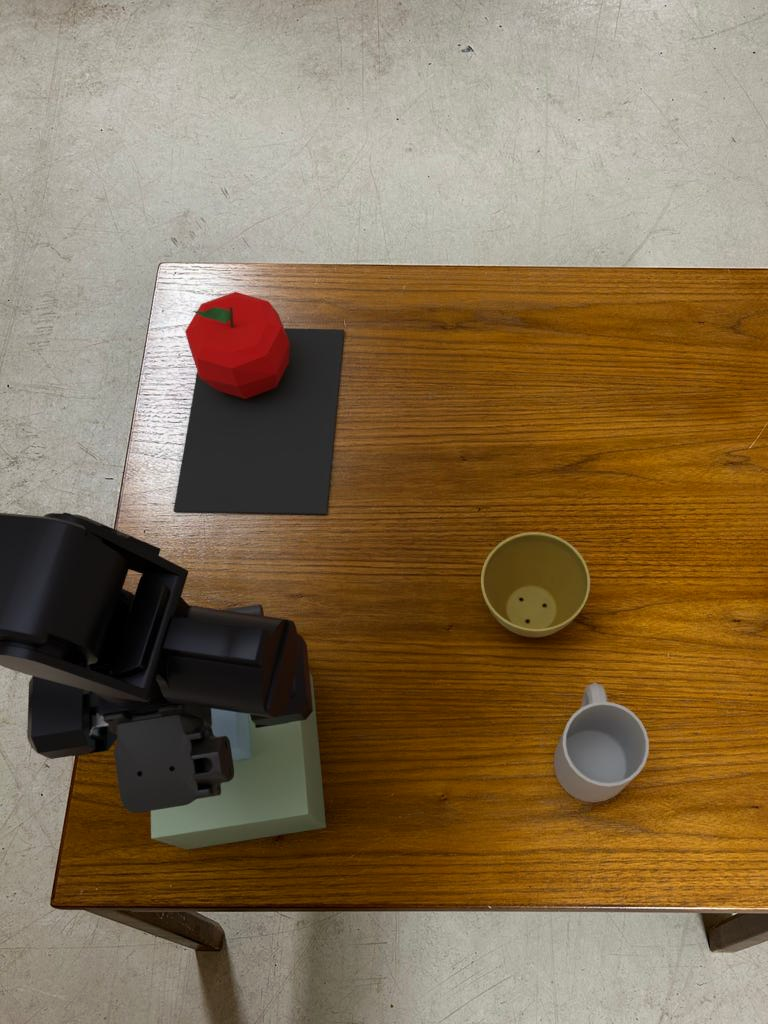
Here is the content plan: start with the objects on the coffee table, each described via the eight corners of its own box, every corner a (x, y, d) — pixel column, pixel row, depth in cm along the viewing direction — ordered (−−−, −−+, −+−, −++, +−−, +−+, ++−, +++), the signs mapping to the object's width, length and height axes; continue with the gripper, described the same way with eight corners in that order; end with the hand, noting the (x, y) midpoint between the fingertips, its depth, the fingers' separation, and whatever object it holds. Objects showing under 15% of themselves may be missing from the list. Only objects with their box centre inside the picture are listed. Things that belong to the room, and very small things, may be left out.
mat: (174, 512, 84) (173, 510, 84) (205, 328, 93) (204, 326, 92) (327, 515, 84) (326, 513, 84) (344, 331, 93) (343, 329, 92)
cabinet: (181, 695, 77) (148, 667, 69) (312, 676, 78) (294, 646, 70) (186, 849, 72) (150, 838, 64) (326, 827, 73) (308, 814, 65)
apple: (298, 332, 92) (278, 263, 83) (297, 409, 88) (276, 347, 79) (205, 336, 92) (174, 267, 82) (199, 414, 88) (167, 351, 79)
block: (202, 765, 66) (186, 755, 63) (200, 719, 68) (184, 706, 64) (251, 758, 67) (237, 747, 63) (248, 712, 68) (235, 699, 64)
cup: (555, 805, 74) (565, 788, 66) (548, 700, 78) (557, 671, 69) (633, 802, 74) (653, 784, 66) (622, 698, 78) (640, 669, 69)
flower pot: (469, 576, 82) (469, 544, 75) (564, 555, 83) (572, 521, 76) (494, 667, 79) (496, 642, 72) (592, 643, 80) (604, 616, 73)
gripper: (-32, 815, 46) (90, 845, 61) (294, 764, 47) (337, 805, 62) (-22, 635, 50) (91, 704, 64) (280, 592, 51) (323, 669, 66)
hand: (210, 723), depth 64 cm, fingers open, 9 cm apart
